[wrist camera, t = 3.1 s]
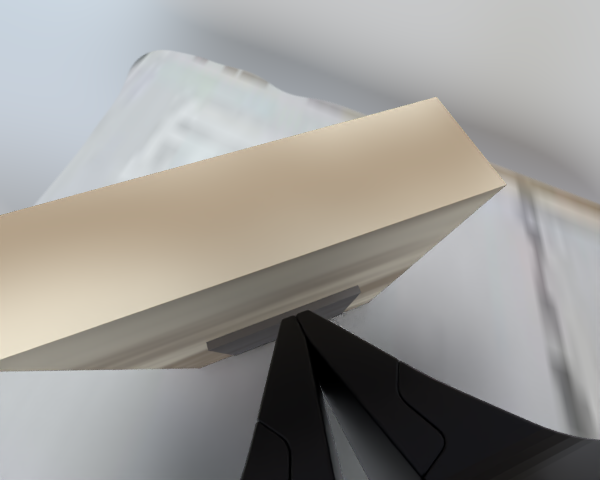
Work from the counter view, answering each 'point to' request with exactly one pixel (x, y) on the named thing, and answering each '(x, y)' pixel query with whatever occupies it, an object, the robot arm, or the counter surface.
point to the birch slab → (233, 244)
